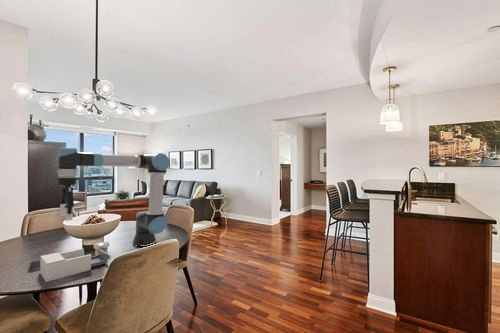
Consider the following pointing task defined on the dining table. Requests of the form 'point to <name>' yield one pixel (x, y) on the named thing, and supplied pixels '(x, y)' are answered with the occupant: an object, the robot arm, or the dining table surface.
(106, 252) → the oak block
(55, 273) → the white drawer housing
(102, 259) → the tray
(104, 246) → the shiny silver disc
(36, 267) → the smartphone
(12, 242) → the dining table surface
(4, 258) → the dining table surface
